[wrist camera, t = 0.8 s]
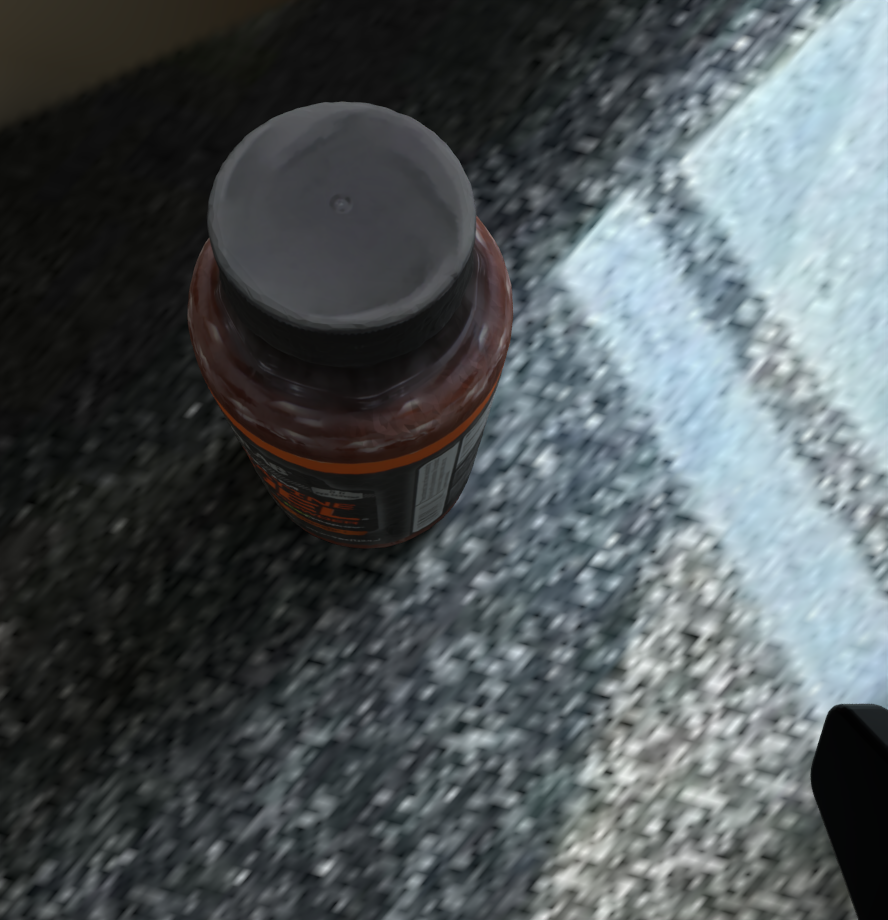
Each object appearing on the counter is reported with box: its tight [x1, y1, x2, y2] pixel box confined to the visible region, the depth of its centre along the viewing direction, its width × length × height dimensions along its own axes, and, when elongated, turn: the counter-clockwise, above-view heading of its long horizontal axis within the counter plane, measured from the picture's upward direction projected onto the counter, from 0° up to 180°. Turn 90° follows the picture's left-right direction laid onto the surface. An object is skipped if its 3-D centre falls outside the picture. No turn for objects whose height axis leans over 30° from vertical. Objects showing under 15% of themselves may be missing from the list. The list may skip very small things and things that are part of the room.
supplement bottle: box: [188, 102, 513, 548], centre depth 17 cm, size 6×6×11 cm
